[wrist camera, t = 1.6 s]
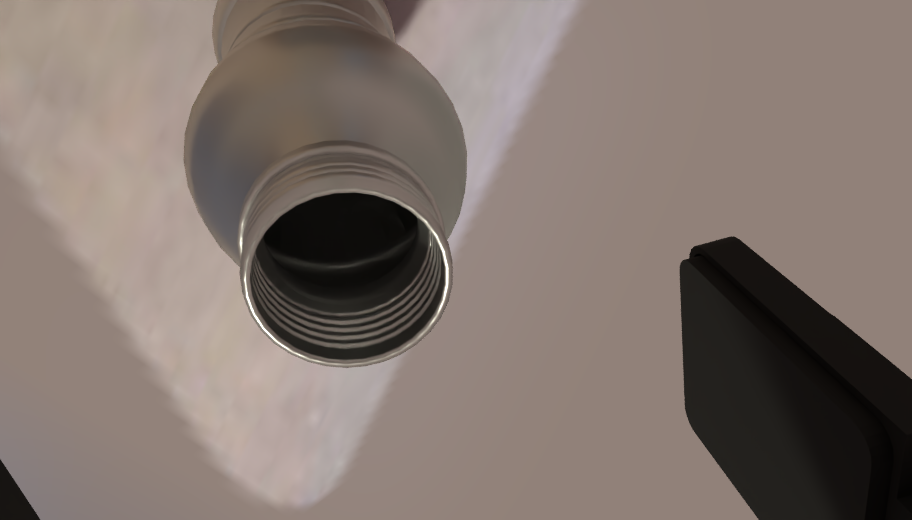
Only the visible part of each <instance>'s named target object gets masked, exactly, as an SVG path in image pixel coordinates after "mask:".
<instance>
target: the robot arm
mask: <svg viewBox="0 0 912 520" xmlns="http://www.w3.org/2000/svg"><path fill="white" fill-rule="evenodd" d="M680 292H681V317H682V344H683V369H684V395H685V410H686V414H687V417H688V420H689V423H690V425H691V427H692V429H693V430H694V432H695V433H696V435H697V436H698V437H699V439H700V440H701V441H702V443H703V444H704V445H705V447H706V448H707V450H708V451H709V452H710V454H711V455H712V456H713V458H714V459H715V460H716V462H717V463H718V465H719V466H720V467H721V469H722V470H723V471H724V473H725V474H726V476H727V477H728V478H729V479H730V481H731V482H732V484H733V485H734V486H735V488H736V489H737V490H738V492H739V493H740V495H741V496H742V497H743V499H744V500H745V501H746V503H747V504H748V506H749V507H750V508H751V509H752V511H753V512H754V514H755V515H756V516H757V518H758V519H759V520H912V379H911V378H910V377H908V376H907V375H906V374H905V373H903V372H902V371H901V370H900V369H899V368H897V367H896V366H895V365H893V364H892V363H891V362H890V361H889V360H888V359H886V358H885V357H884V356H883V355H881V354H880V353H879V352H878V351H876V350H875V349H874V348H873V347H872V346H870V345H869V344H868V343H867V342H865V341H864V340H863V339H862V338H861V337H859V336H858V335H857V334H855V333H854V332H853V331H852V330H851V329H849V328H848V327H847V326H846V325H845V324H843V323H842V322H841V321H840V320H839V319H837V318H836V317H835V316H833V315H831V314H830V313H829V312H827V311H826V310H825V309H824V308H822V307H821V306H820V305H819V304H818V303H816V302H815V301H814V300H813V299H812V298H810V297H809V296H808V295H807V294H805V293H804V292H803V291H802V290H801V289H799V288H798V287H797V286H796V285H794V284H793V283H792V282H791V281H790V280H788V279H787V278H786V277H785V276H783V275H782V274H781V273H780V272H779V271H777V270H776V269H775V268H774V267H772V266H771V265H770V264H769V263H767V262H766V261H765V260H764V259H763V258H761V257H760V256H759V255H758V254H757V253H755V252H754V251H753V250H752V249H750V248H749V247H748V246H747V245H746V244H744V243H743V242H742V241H741V240H739V239H738V238H736V237H727V238H724V239H720V240H716V241H713V242H709V243H705V244H702V245H698V246H694V247H693V248H692V249H691V252H690V258H689V259H686V260H683V261H682V262H681V265H680ZM0 520H40V519H39V517H38V515H37V514H36V512H35V511H34V509H33V508H32V507H31V505H30V504H29V502H28V500H27V499H26V497H25V496H24V494H23V493H22V491H21V490H20V488H19V487H18V485H17V484H16V482H15V481H14V479H13V478H12V476H11V475H10V473H9V472H8V470H7V469H6V467H5V466H4V464H3V463H2V461H1V460H0Z"/></svg>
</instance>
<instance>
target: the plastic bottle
mask: <svg viewBox="0 0 912 520" xmlns="http://www.w3.org/2000/svg"><path fill="white" fill-rule="evenodd" d="M212 37H213V44H214V51H215V56H216V59H217V62H218V65H217V66H216V67H215V68H214V69H213V70H212V71H211V73H210V74H209V76H208V78H207V80H206V82H205V84H204V85H203V87H202V89H201V91H200V93H199V94H198V96H197V99H196V101H195V102H194V104H193V106H192V109H191V113H190V116H189V120H188V123H187V127H186V131H185V140H184V166H185V172H186V178H187V184H188V188H189V190H190V193H191V195H192V198H193V200H194V203H195V205H196V208H197V210H198V213H199V214H200V216H201V218H202V220H203V221H204V223H205V225H206V226H207V228H208V230H209V231H210V233H211V234H212V236H213V237H214V239H215V240H216V242H217V243H218V245H219V246H220V248H221V249H222V250H223V251H224V252H225V253H226V254H227V255H228V256H229V257H230V258H231V259H232V260H233V261H234V262H235V263H236V264H237V265H238V266H239V267H240V280H241V286H242V292H243V295H244V299H245V302H246V304H247V307H248V309H249V312H250V314H251V316H252V318H253V319H254V321H255V322H256V324H257V325H258V327H259V328H260V329H261V331H262V332H263V333H264V334H265V335H266V336H267V337H268V338H269V339H270V340H271V341H272V342H273V343H274V344H276V345H277V346H279V347H280V348H282V349H283V350H285V351H287V352H288V353H290V354H291V355H294V356H296V357H298V358H301V359H303V360H305V361H308V362H311V363H315V364H320V365H324V366H330V367H343V368H349V367H361V366H368V365H372V364H376V363H380V362H384V361H387V360H389V359H391V358H394V357H396V356H398V355H401V354H402V353H404V352H406V351H407V350H409V349H410V348H412V347H413V346H415V345H416V344H418V343H419V342H420V341H421V340H422V339H423V338H424V337H425V336H426V335H427V334H428V333H429V332H431V330H432V329H433V327H434V326H435V325H436V323H437V322H438V321H439V319H440V318H441V316H442V314H443V312H444V310H445V308H446V306H447V303H448V301H449V296H450V293H451V288H452V273H453V267H452V257H451V253H450V248H449V244H448V241H447V239H448V238H449V237H450V235H451V233H452V230H453V228H454V226H455V224H456V222H457V219H458V217H459V215H460V211H461V206H462V202H463V198H464V193H465V186H466V177H467V150H466V145H465V139H464V134H463V128H462V125H461V123H460V120H459V118H458V116H457V113H456V111H455V108H454V106H453V103H452V102H451V100H450V99H449V97H448V96H447V94H446V93H445V91H444V89H443V88H442V86H441V85H440V83H439V82H438V80H437V79H436V78H435V77H434V76H433V75H432V74H431V73H430V72H429V71H428V70H427V69H426V68H425V67H424V66H423V65H422V64H421V63H420V62H419V61H418V60H417V59H416V58H415V57H414V56H413V55H412V54H411V53H410V52H408V51H407V50H405V49H404V48H402V47H401V46H399V45H398V44H396V42H395V34H394V30H393V25H392V21H391V17H390V15H389V12H388V10H387V8H386V5H385V3H384V1H383V0H218V1H217V5H216V8H215V12H214V15H213V29H212Z"/></svg>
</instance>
